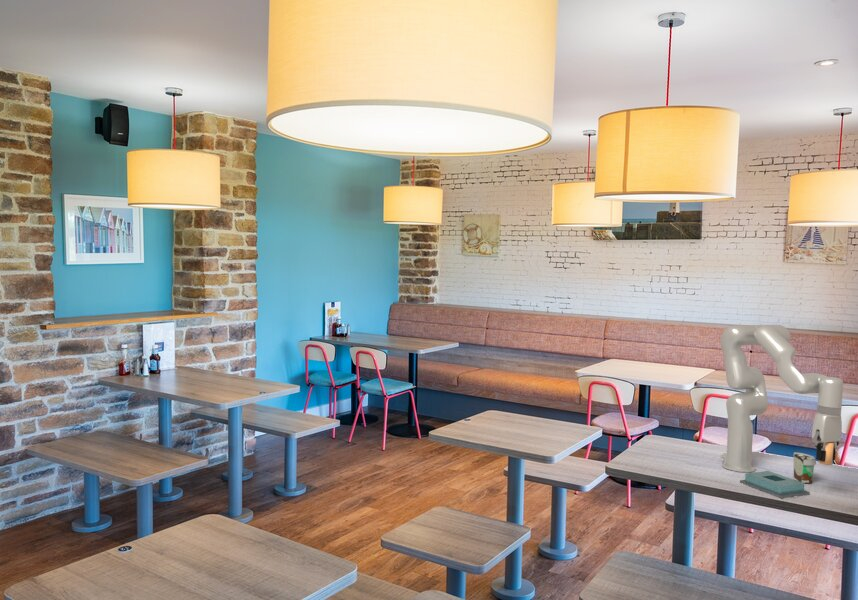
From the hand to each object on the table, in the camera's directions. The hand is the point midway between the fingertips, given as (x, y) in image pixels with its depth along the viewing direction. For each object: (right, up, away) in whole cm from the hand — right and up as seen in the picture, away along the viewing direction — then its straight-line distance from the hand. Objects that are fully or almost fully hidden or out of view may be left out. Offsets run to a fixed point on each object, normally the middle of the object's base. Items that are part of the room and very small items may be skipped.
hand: (825, 459), depth 246 cm
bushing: (0, -1, 0) cm, 1 cm away
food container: (+3, -13, +19) cm, 23 cm away
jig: (-15, -13, +8) cm, 21 cm away
